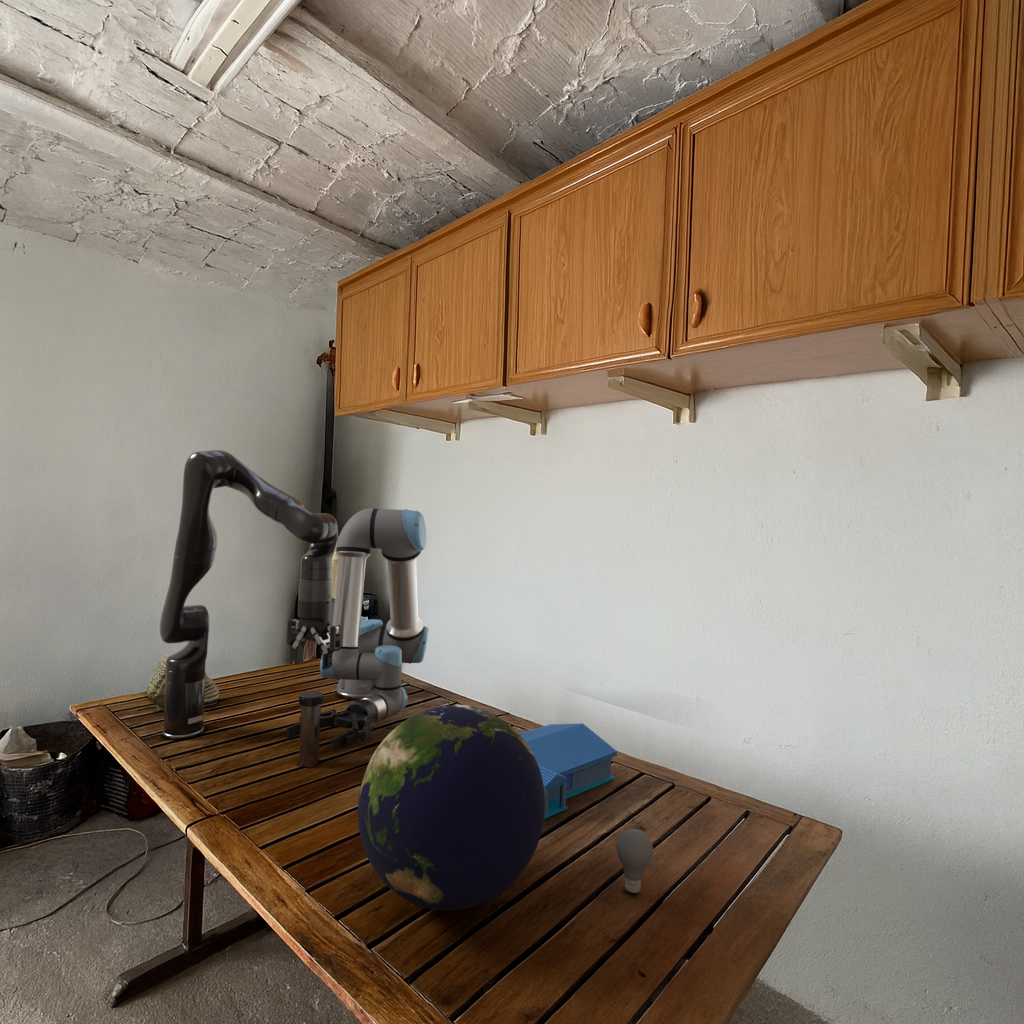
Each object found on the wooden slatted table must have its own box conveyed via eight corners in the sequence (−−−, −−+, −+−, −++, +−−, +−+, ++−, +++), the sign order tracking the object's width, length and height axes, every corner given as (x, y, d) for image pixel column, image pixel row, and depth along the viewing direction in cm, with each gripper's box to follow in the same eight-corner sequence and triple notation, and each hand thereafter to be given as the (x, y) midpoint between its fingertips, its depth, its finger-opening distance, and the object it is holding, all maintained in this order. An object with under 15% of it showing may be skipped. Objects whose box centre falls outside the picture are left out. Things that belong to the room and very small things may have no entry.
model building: (497, 839, 120) (500, 786, 120) (424, 791, 138) (425, 745, 138) (625, 783, 146) (627, 740, 146) (549, 749, 164) (551, 711, 164)
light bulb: (610, 879, 108) (613, 822, 108) (644, 879, 109) (647, 822, 109) (619, 902, 102) (622, 840, 102) (655, 901, 103) (658, 840, 103)
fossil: (144, 707, 182) (145, 655, 182) (212, 696, 194) (213, 647, 194) (151, 716, 175) (153, 662, 175) (221, 703, 188) (223, 653, 188)
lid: (304, 708, 146) (304, 699, 146) (295, 701, 150) (295, 693, 150) (327, 704, 150) (327, 695, 149) (317, 697, 154) (317, 689, 154)
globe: (313, 921, 95) (320, 722, 94) (416, 828, 122) (422, 674, 122) (496, 988, 83) (506, 762, 83) (564, 869, 111) (572, 699, 110)
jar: (303, 768, 147) (306, 700, 147) (295, 762, 150) (298, 695, 150) (321, 764, 150) (324, 696, 150) (314, 757, 153) (316, 692, 153)
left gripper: (280, 596, 149) (277, 665, 149) (329, 602, 143) (326, 674, 143) (302, 592, 156) (299, 658, 156) (349, 598, 150) (347, 667, 150)
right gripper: (404, 735, 163) (352, 766, 144) (327, 718, 173) (269, 744, 154) (405, 707, 163) (353, 733, 144) (328, 691, 173) (270, 713, 154)
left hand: (312, 666), depth 150 cm, fingers open, 8 cm apart
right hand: (309, 739), depth 149 cm, fingers open, 13 cm apart
